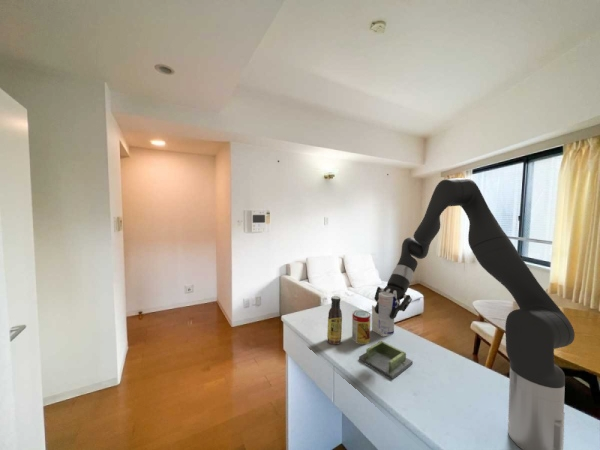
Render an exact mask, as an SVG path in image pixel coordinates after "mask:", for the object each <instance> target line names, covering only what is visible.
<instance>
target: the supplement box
mask: <svg viewBox="0 0 600 450" xmlns="http://www.w3.org/2000/svg"><path fill="white" fill-rule="evenodd" d="M375 306H376V304H373V305H372V306H371V331H372V332H374V333H376V334H377V335H379V336H381V337H383V338H384V337H387V336H388V335H384V334H381V333H380V332H379V331H378V320H379V314H377V313H376V312H375Z"/></svg>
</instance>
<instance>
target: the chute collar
mask: <svg viewBox="0 0 600 450" xmlns="http://www.w3.org/2000/svg"><path fill="white" fill-rule="evenodd" d="M365 351H366V352H365V353H363V354H361V355H359V356H358V360H359V361H361V363H364V364H366V365H367V366H369V367H370V368H373V369H374V370H376V371H377V372H378V373H380V374H382V375H384V376H385V377H387V378H388V379H390V380H394V379H396V378H397V377H398V376H399V375H401V374H402V373H403V372H405V371H406V370H407V369H409V368H410V367H411V366H412V365H413V363H414V361H413V360H412V359H410V358H407V353H406V352H405V351H403V350H401V349H399V348H397V347H395V346H393V345H391V344H389V343H387V342H384V341H383V340H380V341H379V342H377V343H375V344H373V345H371V346H370V347H368V348H366V350H365Z"/></svg>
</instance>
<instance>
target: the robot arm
mask: <svg viewBox="0 0 600 450" xmlns="http://www.w3.org/2000/svg"><path fill="white" fill-rule="evenodd" d="M459 206H460V207H461V208H462V209H463V212H465V215H466V217H467V218H468V223H469V227H468V228H469V229H468V236H467V237H468V238H467V240H468V245H469V247H470V249H471V251H472V253H473V255H474V256H475V259H476V260H477V262H478V263H479V265H480V266H481V268H483V269H484V270H485V271H486V272H487V273H488V274H489V275H490V276H492V277H493V278H494V279H495V280H496V281H498V282H499V283H500V284H501V285H502V286H503V287H505V289H506V290H507V291H508V292H509V293H510V295H511V296H512V298H513V299H514V301H515V303H516V304H517V306H518V309H514V310H511V312H509V313H508V315H507V316H506V318H505V319H506V320H505V326H504V329H505V351H506V355H507V358H508V360H509V387H508V421H507V433H508V436H509V437H510V439H511V440H512V442H513V443H514V444H515V445H516V446H517V447H519V448H520V449H521V450H564V442H565V441H564V440H565V439H564V437H565V435H564V434H565V388H566V387H565V386H566V376H565V372H564V371H563V369H562V368H560V366H558V365H557V364H555V350H556V349H560V348H565V347H567V346H569V345H571V344H572V343H573V342H574V340H575V338H576V337H575V329H574V327H573V325H572V323H571V321H570V320H569V318H568V317H567V315H565V313H564V312H563V311H562V309H560V307H559V306H558V305H557V303H556V302H555V301H554V300H553V299H552V298H551V296H550V295H549V293H547V292H546V290H545V289H544V288H543V287H542V285H541V284H540V283H539V282H538V280H537V278H536V277H535V275H534V274H533V272H532V271H531V269H530V268H529V267H528V265H527V263H526V262H525V261H524V259H523V258H522V256H521V255H520V254H519V252H518V250H517V248H516V246H515V245H514V244H513V242H512V241H511V239H510V238H509V236H508V235H507V234H506V232H505V231H504V229H503V228H502V226H500V224H499V222H498V220H497V218H496V217H495V216H494V214H493V212H492V211H491V209H490V207H489V206H488V204H487V202H486V200H485V198H484V195H483V194H482V191H481V189H480V188H479V186H478V185H477V183H476V182H475V181H474V180H473V179H471V178H469V177H457V178H456V177H455V178H454V177H453V178H445V179H442V180H440V181H439V182H438V183H437V184H436V186H435V188H434V191H433V192H432V195H431V198H430V200H429V203H428V206H427V208H426V211H425V212H424V216H423V218H422V220H421V222H420V224H418V226H417V228H416V230H415V231H414V232H413V237H405V238H404V240H403V242H402V245H401V250H400V251H401V252H400V257H399V260H398V262H397V264H396V266H395V267H394V269H393V270H392V272H391V275H390V277H389V278H388V281H387V283H386V286H385V287H383V288H381V287H380V286H377V288H376V292H375V294H374V298H373V299H374V300H375V302H376V304H375V305H376V306H375V312H376V313H377V314H379V293H380V292H389V293H392V294H394V308H393V309H392V311H391V313H390V316H389V317H390V318H391V319H394V320H395V319H396V318H397V315H398V313H399V312H401V311H402V312H405V311H406V309H407V308H409V306H410V303H412V302H413V299H412V297H411V296H410V294H406V293H407V291H408V289H409V287H410V284H411V282H412V281H413V277H414V274H415V271H416V269H417V267H418V261H417V259H418V260H421V259H425V258H426V257H427V256H428V254H429V249H430V245H431V242H433V240H434V238H435V237H436V236H437V234H438V233H439V232H440V229H441V215H442V213H443V212H444V211H445V210H447V208H448V207H459ZM416 258H417V259H416ZM401 300H402V301H401Z"/></svg>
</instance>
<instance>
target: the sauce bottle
mask: <svg viewBox="0 0 600 450" xmlns="http://www.w3.org/2000/svg"><path fill="white" fill-rule="evenodd" d="M330 300H331V305H330V308H329V311H328V317H327V333H326V334H327V335H326V336H327V339H326V340H327V342H328V344H331V345H339V344H341V341H342V334H343V331H342V330H343V328H342V327H343V313H342V310H341V304H340V303H341V297H340V296H336V295H334V296H333V295H332V296H331V299H330Z"/></svg>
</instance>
